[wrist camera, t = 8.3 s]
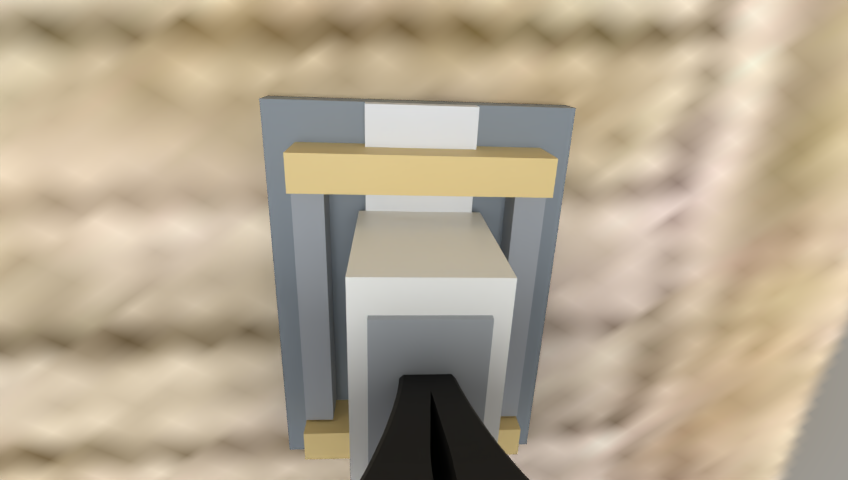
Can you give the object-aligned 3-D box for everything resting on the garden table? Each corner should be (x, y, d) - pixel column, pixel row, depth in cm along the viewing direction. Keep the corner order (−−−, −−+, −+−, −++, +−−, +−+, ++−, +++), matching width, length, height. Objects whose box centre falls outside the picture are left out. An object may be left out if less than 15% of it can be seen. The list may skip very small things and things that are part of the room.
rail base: (520, 426, 21) (538, 478, 19) (294, 431, 21) (280, 486, 18) (565, 105, 16) (598, 115, 14) (267, 95, 15) (242, 104, 13)
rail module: (465, 385, 18) (492, 503, 13) (361, 386, 18) (350, 507, 13) (480, 212, 16) (519, 282, 11) (358, 210, 15) (344, 280, 11)
